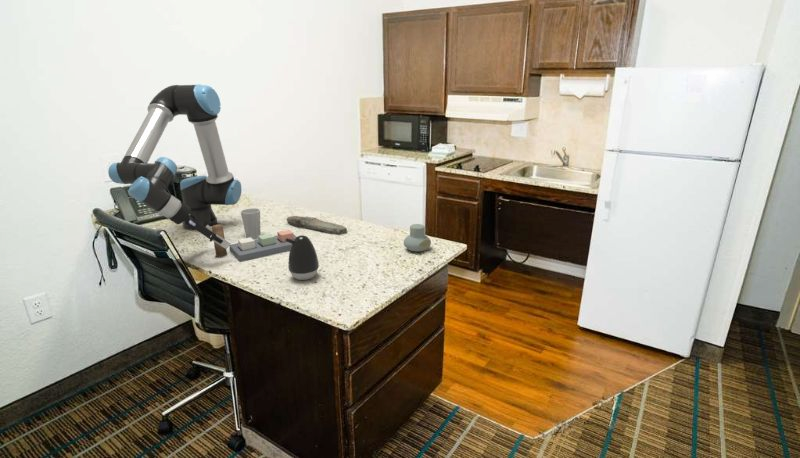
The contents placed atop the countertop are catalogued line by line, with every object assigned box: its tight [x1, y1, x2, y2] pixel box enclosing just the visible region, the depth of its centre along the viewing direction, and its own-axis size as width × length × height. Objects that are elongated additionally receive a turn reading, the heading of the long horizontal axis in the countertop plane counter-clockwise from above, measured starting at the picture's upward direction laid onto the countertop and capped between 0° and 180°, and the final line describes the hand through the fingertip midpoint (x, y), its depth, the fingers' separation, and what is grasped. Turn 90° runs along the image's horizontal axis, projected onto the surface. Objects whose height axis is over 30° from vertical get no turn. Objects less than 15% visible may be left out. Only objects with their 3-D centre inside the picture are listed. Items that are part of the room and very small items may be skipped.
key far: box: [276, 229, 295, 242], centre depth 178 cm, size 5×5×3 cm
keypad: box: [228, 234, 298, 262], centre depth 174 cm, size 14×26×2 cm, turn 126°
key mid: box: [258, 233, 275, 246], centre depth 173 cm, size 5×5×3 cm
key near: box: [237, 237, 255, 251], centre depth 169 cm, size 5×5×3 cm
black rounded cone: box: [286, 234, 320, 281], centre depth 147 cm, size 10×10×15 cm
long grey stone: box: [286, 215, 348, 235], centre depth 201 cm, size 35×5×10 cm
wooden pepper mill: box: [212, 224, 228, 258], centre depth 166 cm, size 4×4×12 cm
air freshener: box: [403, 223, 432, 253], centre depth 172 cm, size 11×8×10 cm
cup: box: [240, 207, 262, 240], centre depth 187 cm, size 8×8×12 cm
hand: (223, 241), depth 167 cm, fingers open, 13 cm apart
